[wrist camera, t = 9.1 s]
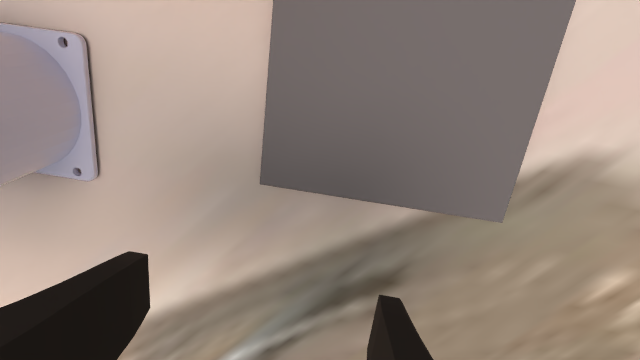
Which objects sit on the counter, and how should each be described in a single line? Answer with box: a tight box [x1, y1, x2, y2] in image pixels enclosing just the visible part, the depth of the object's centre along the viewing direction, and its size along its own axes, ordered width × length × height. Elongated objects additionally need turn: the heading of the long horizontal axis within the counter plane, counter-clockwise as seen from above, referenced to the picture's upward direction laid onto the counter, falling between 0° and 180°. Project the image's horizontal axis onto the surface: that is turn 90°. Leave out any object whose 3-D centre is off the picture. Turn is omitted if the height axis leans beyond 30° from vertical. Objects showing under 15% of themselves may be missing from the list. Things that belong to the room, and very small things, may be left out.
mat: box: [260, 0, 576, 223], centre depth 19 cm, size 13×13×1 cm
